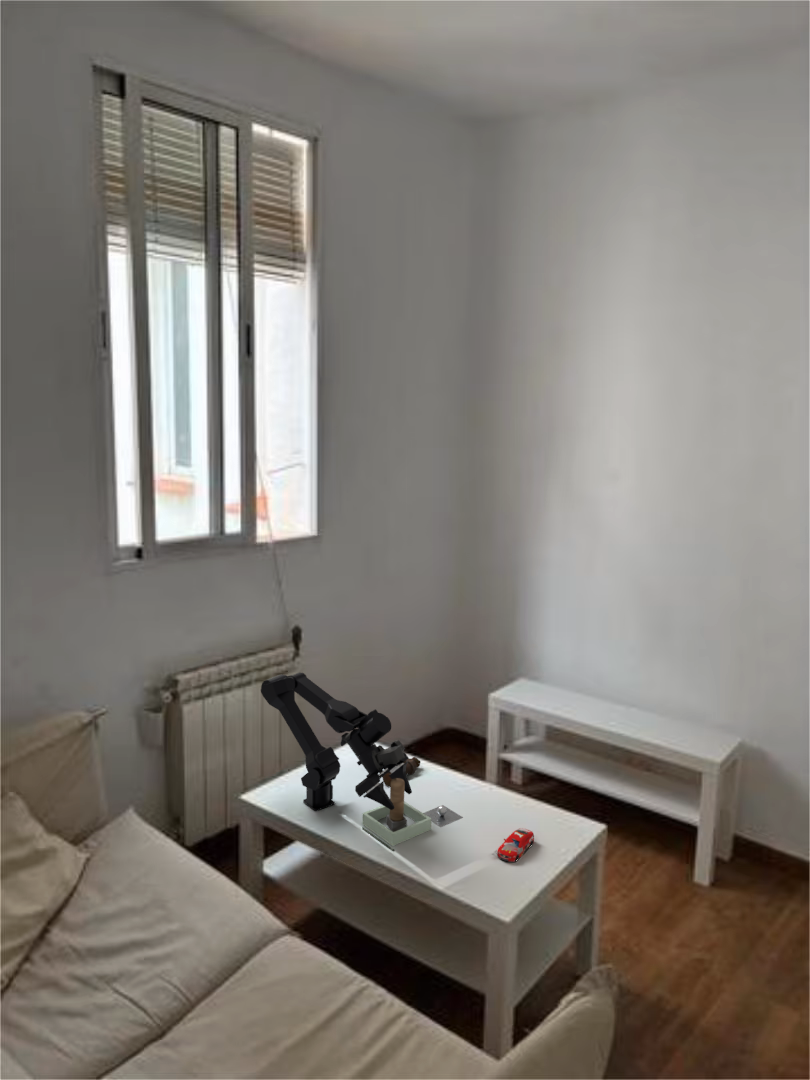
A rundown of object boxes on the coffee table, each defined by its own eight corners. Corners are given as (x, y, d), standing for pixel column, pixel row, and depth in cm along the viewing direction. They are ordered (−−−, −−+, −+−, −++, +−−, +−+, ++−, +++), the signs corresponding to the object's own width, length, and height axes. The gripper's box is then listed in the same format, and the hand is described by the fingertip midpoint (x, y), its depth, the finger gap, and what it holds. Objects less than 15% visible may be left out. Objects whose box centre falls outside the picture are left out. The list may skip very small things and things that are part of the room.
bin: (392, 851, 196) (393, 834, 196) (362, 829, 206) (362, 813, 205) (430, 834, 204) (431, 818, 204) (399, 814, 214) (400, 798, 213)
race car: (512, 867, 192) (513, 852, 191) (493, 859, 195) (493, 844, 194) (537, 843, 202) (538, 828, 202) (519, 835, 206) (519, 821, 205)
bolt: (418, 773, 241) (391, 792, 228) (406, 762, 243) (379, 780, 230) (427, 760, 239) (400, 778, 226) (415, 749, 241) (388, 766, 228)
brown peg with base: (392, 833, 202) (393, 786, 200) (386, 825, 206) (387, 779, 204) (406, 830, 204) (407, 783, 202) (400, 822, 208) (401, 776, 205)
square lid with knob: (440, 832, 206) (441, 817, 205) (420, 819, 212) (420, 804, 211) (462, 822, 211) (463, 808, 210) (442, 810, 217) (443, 795, 216)
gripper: (366, 748, 194) (404, 802, 191) (403, 722, 210) (439, 771, 207) (339, 770, 199) (375, 823, 196) (376, 743, 215) (411, 791, 212)
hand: (402, 801), depth 203 cm, fingers open, 9 cm apart
